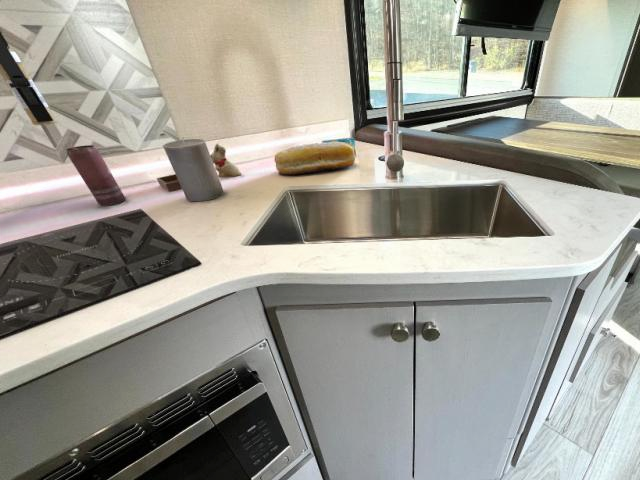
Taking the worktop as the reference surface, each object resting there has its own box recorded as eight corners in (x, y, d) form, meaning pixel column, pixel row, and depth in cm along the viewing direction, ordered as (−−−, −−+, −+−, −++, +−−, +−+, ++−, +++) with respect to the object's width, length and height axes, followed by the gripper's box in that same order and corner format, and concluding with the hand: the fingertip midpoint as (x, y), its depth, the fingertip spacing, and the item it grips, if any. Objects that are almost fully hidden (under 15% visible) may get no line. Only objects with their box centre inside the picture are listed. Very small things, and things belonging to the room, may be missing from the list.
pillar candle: (217, 187, 94) (196, 132, 85) (229, 195, 88) (207, 136, 79) (182, 196, 89) (155, 137, 80) (191, 204, 83) (164, 142, 74)
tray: (169, 192, 92) (165, 184, 91) (160, 185, 98) (156, 178, 96) (208, 182, 99) (205, 175, 97) (197, 177, 104) (194, 169, 102)
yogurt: (325, 159, 118) (322, 141, 114) (324, 158, 119) (321, 140, 115) (356, 155, 121) (354, 137, 117) (355, 154, 122) (353, 137, 118)
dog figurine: (230, 171, 108) (219, 139, 102) (243, 174, 105) (233, 141, 99) (215, 175, 105) (202, 142, 99) (228, 179, 101) (216, 145, 95)
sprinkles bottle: (41, 123, 75) (-5, 52, 67) (63, 121, 76) (20, 51, 68) (28, 126, 72) (-22, 51, 64) (51, 124, 72) (4, 50, 64)
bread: (360, 169, 106) (357, 143, 101) (279, 180, 99) (272, 152, 94) (350, 160, 116) (347, 136, 111) (276, 169, 109) (269, 144, 104)
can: (103, 200, 88) (70, 146, 80) (129, 197, 90) (99, 143, 81) (94, 207, 84) (57, 151, 75) (121, 204, 85) (88, 148, 77)
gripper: (-20, -27, 56) (68, 121, 70) (-13, -12, 66) (63, 115, 81) (-85, -32, 52) (23, 126, 66) (-67, -15, 62) (23, 119, 77)
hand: (45, 120), depth 74 cm, fingers closed on sprinkles bottle, 4 cm apart
